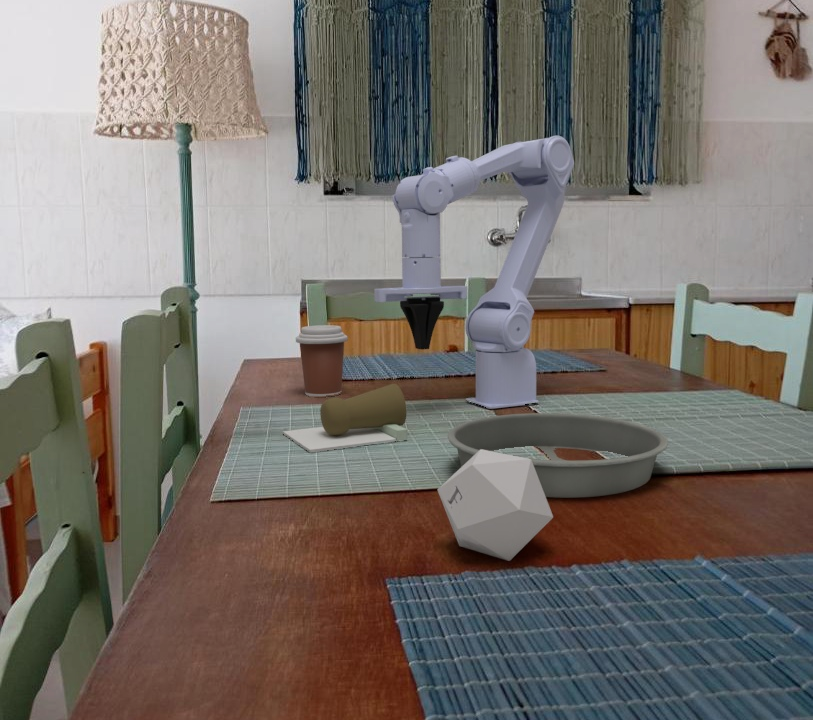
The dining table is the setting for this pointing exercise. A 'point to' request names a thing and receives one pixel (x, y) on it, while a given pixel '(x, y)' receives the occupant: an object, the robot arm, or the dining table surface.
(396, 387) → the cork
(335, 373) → the coffee cup
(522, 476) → the die
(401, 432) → the kerb
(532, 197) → the robot arm
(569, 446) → the cake pan
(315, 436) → the mat
